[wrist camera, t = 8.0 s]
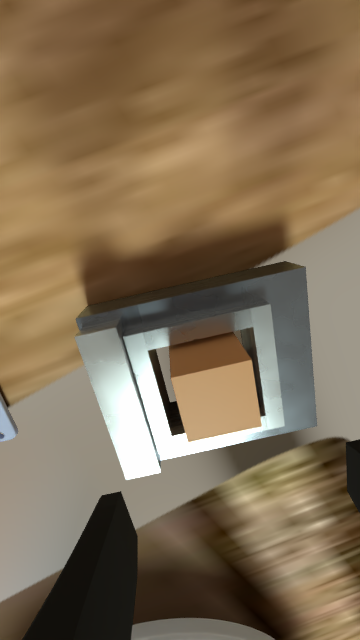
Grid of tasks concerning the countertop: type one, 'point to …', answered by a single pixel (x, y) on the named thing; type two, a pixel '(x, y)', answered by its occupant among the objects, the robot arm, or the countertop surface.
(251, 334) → the nested square metal frame
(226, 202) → the countertop surface
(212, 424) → the tan cardboard-like brick
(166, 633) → the plate stack
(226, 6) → the countertop surface
